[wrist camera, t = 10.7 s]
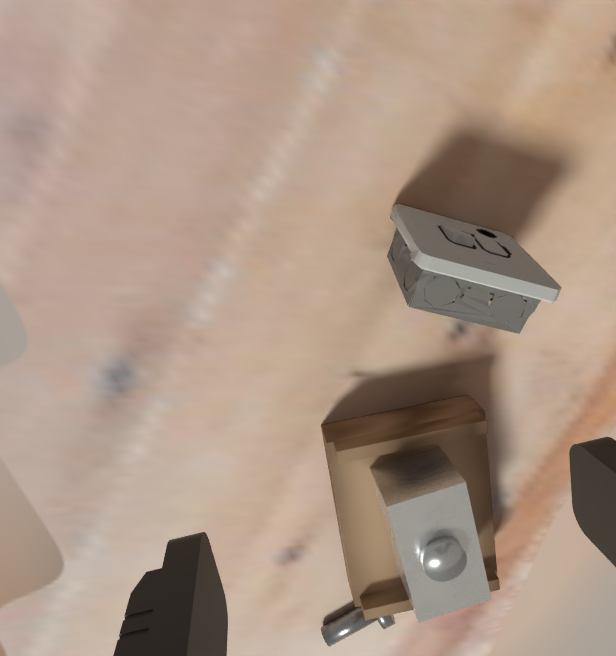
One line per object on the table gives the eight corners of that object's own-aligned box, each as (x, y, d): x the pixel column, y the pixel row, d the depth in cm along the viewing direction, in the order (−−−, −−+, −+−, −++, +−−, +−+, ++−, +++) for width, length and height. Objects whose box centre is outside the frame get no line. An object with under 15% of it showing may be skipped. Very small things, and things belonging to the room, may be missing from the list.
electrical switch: (508, 233, 39) (579, 264, 31) (482, 298, 41) (542, 344, 32) (390, 200, 38) (430, 223, 29) (368, 269, 39) (400, 310, 31)
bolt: (376, 586, 46) (384, 609, 44) (390, 606, 47) (398, 630, 45) (317, 619, 47) (321, 644, 44) (331, 638, 47) (336, 664, 45)
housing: (439, 445, 40) (470, 488, 34) (463, 552, 43) (496, 607, 37) (369, 467, 40) (389, 514, 34) (398, 573, 43) (422, 631, 37)
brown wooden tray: (467, 394, 43) (493, 419, 38) (481, 550, 47) (505, 588, 42) (320, 425, 42) (329, 453, 37) (348, 580, 46) (359, 622, 42)
